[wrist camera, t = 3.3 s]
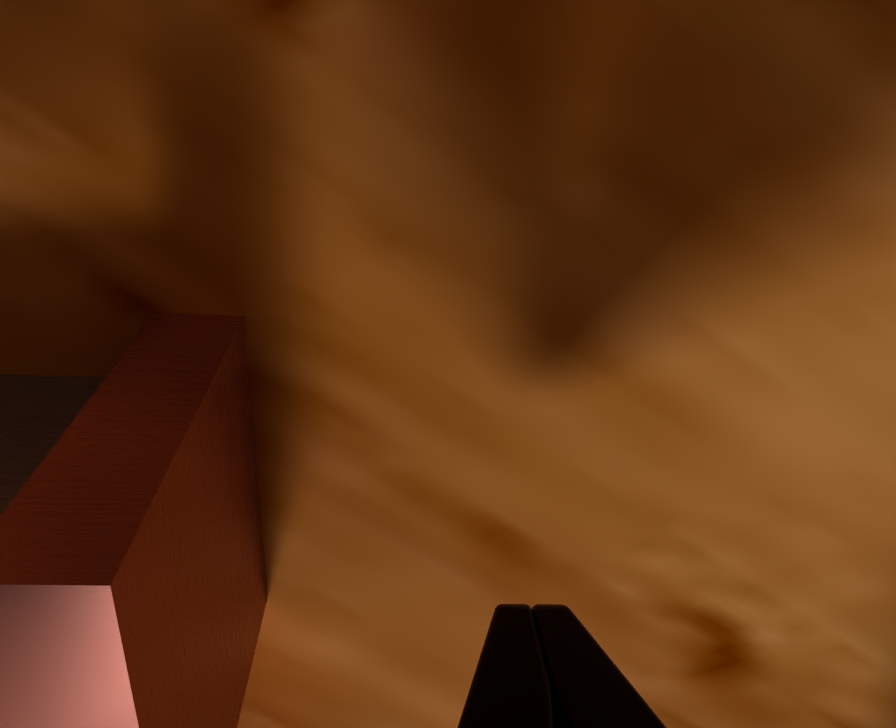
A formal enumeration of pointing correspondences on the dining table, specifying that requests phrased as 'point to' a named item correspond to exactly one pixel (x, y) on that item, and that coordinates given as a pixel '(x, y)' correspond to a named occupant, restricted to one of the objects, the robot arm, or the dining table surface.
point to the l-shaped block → (132, 536)
